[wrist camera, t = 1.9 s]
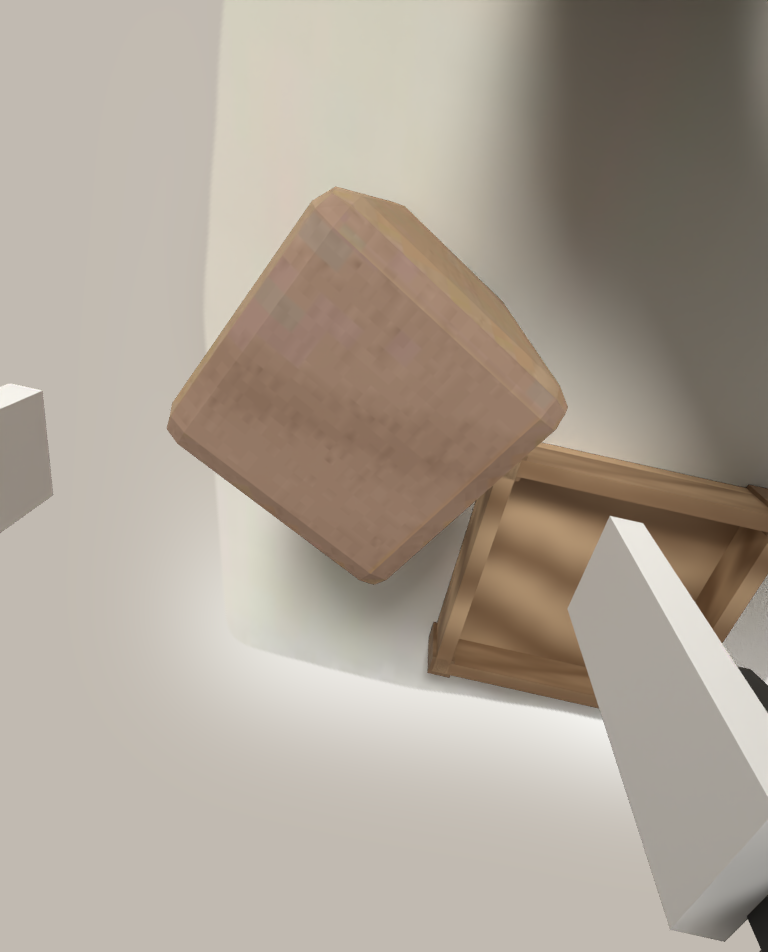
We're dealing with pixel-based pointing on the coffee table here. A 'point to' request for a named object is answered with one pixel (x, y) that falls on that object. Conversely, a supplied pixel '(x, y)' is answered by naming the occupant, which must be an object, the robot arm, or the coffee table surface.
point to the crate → (584, 563)
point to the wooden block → (366, 387)
